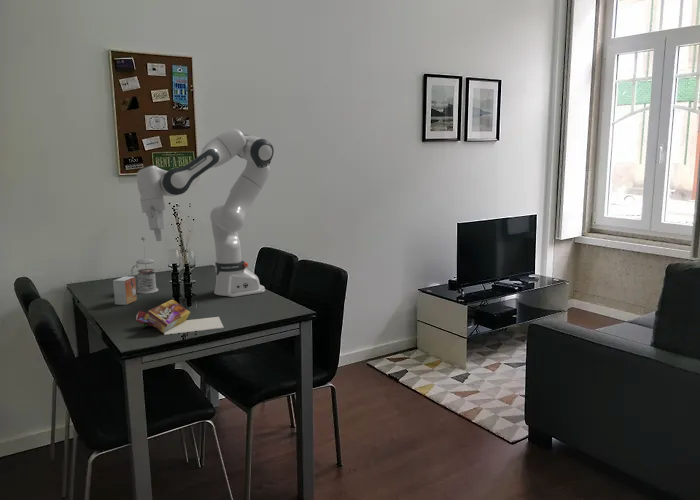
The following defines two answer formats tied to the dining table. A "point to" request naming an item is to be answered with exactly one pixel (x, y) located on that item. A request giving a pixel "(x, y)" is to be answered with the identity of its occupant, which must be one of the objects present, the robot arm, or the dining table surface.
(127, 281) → the small box
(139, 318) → the geometric puzzle
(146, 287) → the french press
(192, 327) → the felt mat
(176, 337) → the dining table surface
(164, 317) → the candy box
